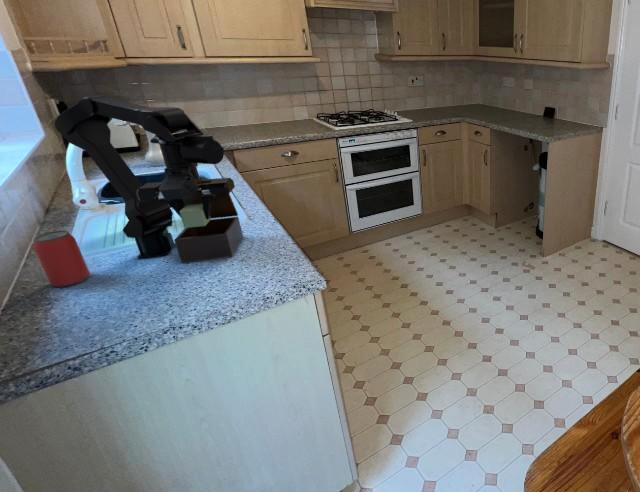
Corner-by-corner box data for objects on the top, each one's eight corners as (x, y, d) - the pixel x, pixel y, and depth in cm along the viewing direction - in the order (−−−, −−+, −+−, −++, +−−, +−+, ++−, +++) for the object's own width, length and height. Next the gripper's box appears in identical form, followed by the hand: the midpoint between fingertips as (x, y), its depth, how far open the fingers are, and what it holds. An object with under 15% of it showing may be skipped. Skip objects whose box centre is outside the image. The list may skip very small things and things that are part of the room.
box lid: (222, 179, 108) (225, 168, 111) (170, 183, 104) (175, 172, 108) (237, 215, 116) (240, 204, 120) (190, 220, 113) (194, 209, 116)
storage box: (232, 256, 109) (226, 234, 106) (181, 263, 105) (174, 239, 102) (243, 237, 119) (238, 216, 117) (197, 242, 116) (191, 221, 113)
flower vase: (190, 162, 192) (175, 108, 183) (141, 170, 178) (121, 113, 169) (180, 157, 199) (165, 106, 190) (132, 165, 185) (113, 110, 176)
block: (184, 228, 102) (179, 211, 100) (191, 221, 106) (186, 205, 104) (205, 226, 103) (200, 209, 101) (211, 219, 107) (206, 203, 105)
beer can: (56, 291, 92) (34, 244, 88) (47, 282, 95) (26, 236, 91) (95, 278, 97) (75, 233, 93) (85, 270, 101) (67, 226, 96)
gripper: (114, 173, 88) (137, 237, 94) (213, 167, 94) (229, 228, 100) (139, 160, 98) (158, 219, 104) (228, 156, 104) (241, 211, 110)
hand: (196, 219), depth 104 cm, fingers closed on block, 4 cm apart
